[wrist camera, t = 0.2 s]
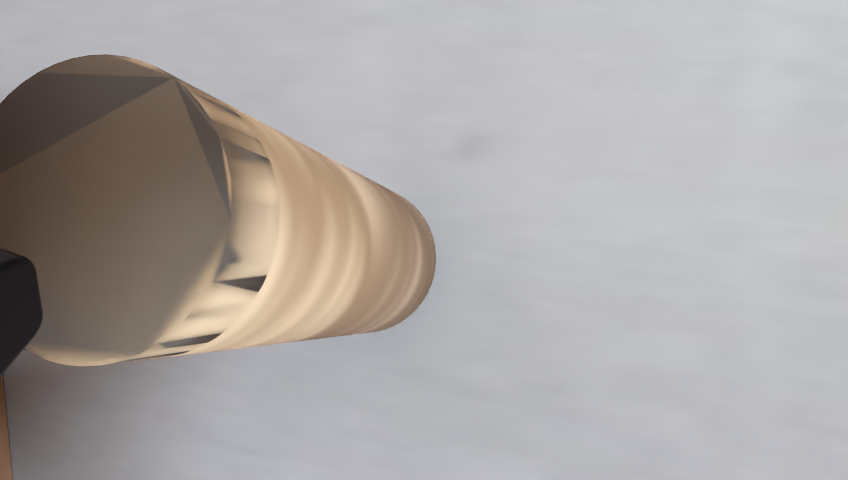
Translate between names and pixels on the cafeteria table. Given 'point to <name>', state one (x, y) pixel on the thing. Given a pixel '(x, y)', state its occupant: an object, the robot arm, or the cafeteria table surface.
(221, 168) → the beech pin
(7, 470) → the socket block
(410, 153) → the cafeteria table surface
